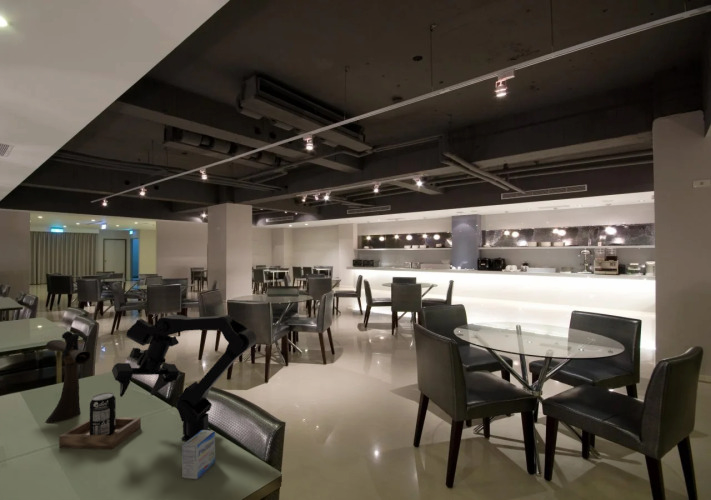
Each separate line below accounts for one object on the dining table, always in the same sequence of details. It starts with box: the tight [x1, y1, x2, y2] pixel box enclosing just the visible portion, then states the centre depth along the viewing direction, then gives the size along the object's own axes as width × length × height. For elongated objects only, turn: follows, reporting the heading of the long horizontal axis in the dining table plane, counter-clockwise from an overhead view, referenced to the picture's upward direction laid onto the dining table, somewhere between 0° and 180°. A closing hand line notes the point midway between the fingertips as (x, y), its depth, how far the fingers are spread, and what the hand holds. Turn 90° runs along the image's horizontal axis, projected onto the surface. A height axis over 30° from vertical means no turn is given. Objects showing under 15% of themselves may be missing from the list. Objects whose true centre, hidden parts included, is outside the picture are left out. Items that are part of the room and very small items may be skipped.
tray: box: [58, 416, 142, 451], centre depth 109 cm, size 16×12×4 cm
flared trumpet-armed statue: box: [45, 330, 91, 424], centre depth 124 cm, size 32×10×30 cm, turn 55°
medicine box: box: [181, 430, 216, 480], centre depth 93 cm, size 8×4×9 cm, turn 168°
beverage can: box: [89, 391, 117, 435], centre depth 109 cm, size 7×7×12 cm
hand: (136, 395), depth 112 cm, fingers open, 9 cm apart
